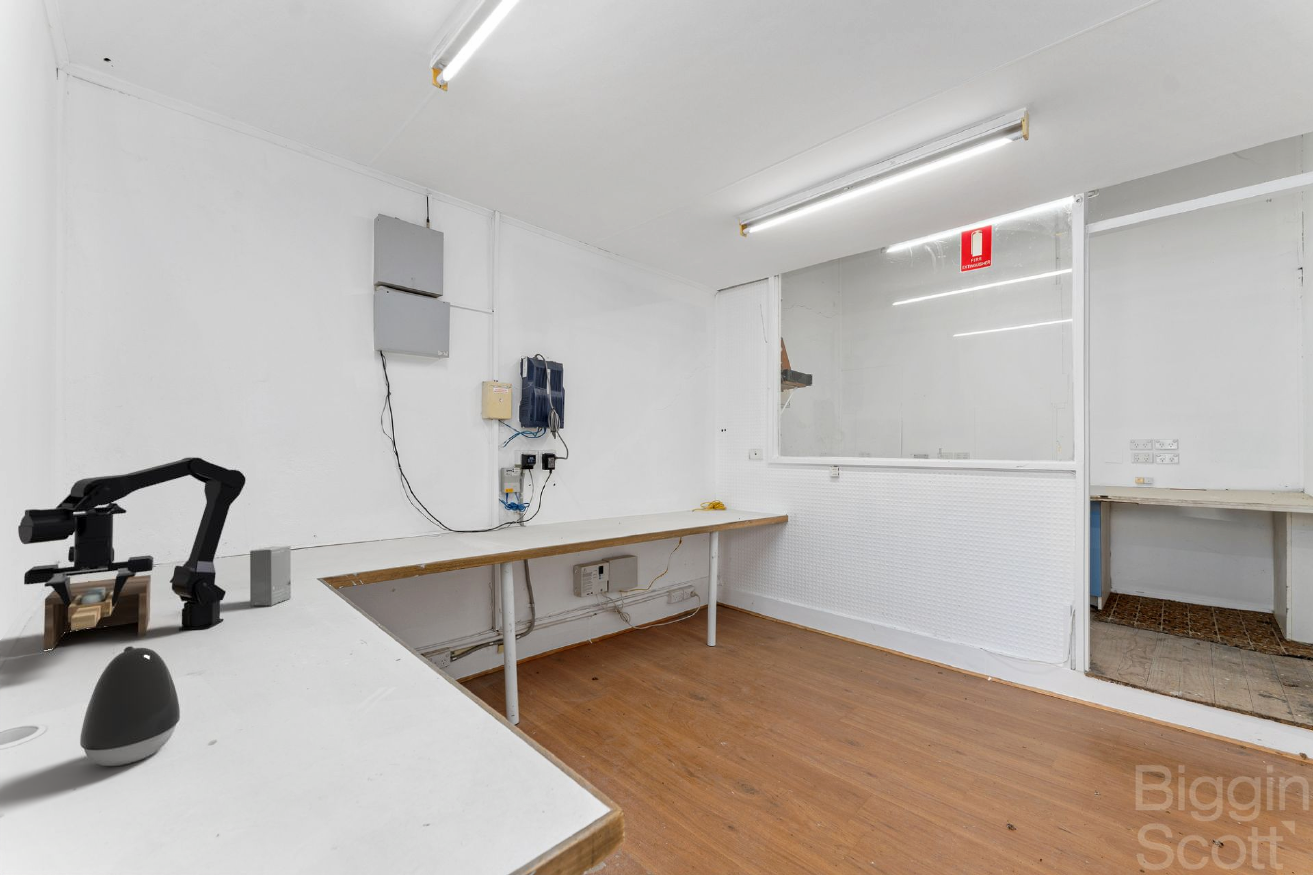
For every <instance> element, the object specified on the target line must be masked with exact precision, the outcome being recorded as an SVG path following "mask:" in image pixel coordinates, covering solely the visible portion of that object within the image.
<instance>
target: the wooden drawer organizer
mask: <svg viewBox="0 0 1313 875" xmlns="http://www.w3.org/2000/svg"><path fill="white" fill-rule="evenodd" d="M151 576H152V575H151V574H146V575H145V574H144V575H137V576H136V575H135V576H134V577H129V578H128V579H127V581H126V583H125V584H124V586H123V588H122V590H121V592H120V595H119V597H118V600H117V602H116V605H115V607H114V609H113V611H112V613H111V615H110V616H107V617H100V619H99V620H98V622H97V624H96V626H95V627H92V628H96V629H99V628H98V627H102V628H105V627H104V626H109V627H115V625H116V626H120V625H127V624H126V623H129V624H134V623H135V624H136V623H138V627H137V628H138V631H137V632H138V634H137V637H145V636H146V634H147V630H148V627H149V624H150V620H151V619H150V618H151V617H150V615H151V581H152V580H151V578H152V577H151ZM115 580H116V578H110V579H101V580H100V579H99V580H92V581H91V580H90V581H82V582H73V583H70V588H71V595H72V601H74V600H75V599H76V597H77V596H78V595H84V594H86V590H87V589H91V588H99V587H105V592H109V591H114V586H115ZM43 624H44V626H43V651H44V650H48V649H52V648H53V647H54V646H55V645H56V646H57V644H58V643H59V641H60V640H61V639H60V638H62V637H63V636H64V635H65V633H64V632H69V633H71V632H70V631H71V622H68V610H67V608H66V606H65V605H64V603H63V601H62V599H61V598H60V596H59V595H58V594H57V592H56V591H55V590H54V589H53V590H52V592H51V593H49V594H48V595H47V596H46V597H45V598H44V623H43ZM85 629H87V628H85ZM78 630H82V631H85V630H84V629H78ZM72 631H76V630H72ZM76 632H77V631H76ZM63 634H64V635H63ZM62 635H63V636H62ZM61 636H62V637H61ZM59 639H60V640H59ZM57 642H58V643H57ZM56 643H57V644H56ZM56 646H55V647H56ZM55 647H54V648H55ZM54 648H53V649H54Z"/></svg>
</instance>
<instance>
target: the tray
mask: <svg viewBox="0 0 1313 875" xmlns="http://www.w3.org/2000/svg"><path fill="white" fill-rule="evenodd" d="M112 597H113V591H109V592H105V587H99V588H91V589H87V590H86V594H84V595H78V596H77V597H76V599H75V600H74V601H73V602H72V603H71V605H70V606H69V607H68V622H71V631H72V630H78V629H85V628H92V627H95V626H96V624H97V622H98V620H99V619H100V617H107V616H110V615H111V613H112V611H113V609H114V607H115V606H114V607H112ZM115 605H116V604H115Z"/></svg>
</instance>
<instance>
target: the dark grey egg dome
mask: <svg viewBox="0 0 1313 875" xmlns="http://www.w3.org/2000/svg"><path fill="white" fill-rule="evenodd" d="M170 672H171V671H170V670H169V668H168V666H167V664H166V662H165V661H164V660H163V658H162V657H161V656H160V655H159V654H158V653H157V651H155V650H153V649H151V648H146V647H136V648H135V647H133V646H130V645H129V646H127V647H125V648H124V649H123V652H121V653H119V654H118V655H116V656H115V657H114V658H112V659H111V661H110V662H109V663H108V665H106V667H105V668H104V670H103V672H102V673H101V675H100V676H99V678H98V681H97V682H96V684H95V687H94V689H93V692H92V693H91V697H90V700H89V702H88V706H87V707H86V712H85V714H84V719H83V722H82V727H81V731H80V736H79V737H80V738H79V744H80V747H81V748H82V749H83V750H84V753H85V755H86V757H87V758H88V759H89V760H90V761H91V762H93V763H94V764H96V765H99V766H103V767H118V766H124V764H125V765H129V764H132V762H133V763H135V762H138V761H141V760H143V759H145V758H147V757H150V756H151V755H153V754H155V753H156V752H157V751H159V750H160V749H161V748H163V747H164V746H165V745H166V744H167V743H168V741H169V740H170V739H171V737H172V736H173V733H174V732H175V729H176V727H177V724H178V723H179V721H180V718H181V710H180V703H179V702H180V701H179V698H178V693H177V689H176V686H175V683H174V680H173V677H172V674H171V673H170Z"/></svg>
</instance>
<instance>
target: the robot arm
mask: <svg viewBox="0 0 1313 875" xmlns="http://www.w3.org/2000/svg"><path fill="white" fill-rule="evenodd" d="M187 476H191V477H192V478H194V479H195V480H197V481H198V482H199V481H200V482H202V483H204V490H203V491H204V496H205V500H206V503H205V507H204V510H203V512H202V513H203V515H202V517H201V520H200V523H199V527H198V530H197V532H196V536H195V539H194V541H193V545H192V548H191V552H190V554H189V557H188V560H187V561H186V562H185V563H184V564H183V565H175V567H174V570H173V575H172V578H171V579H170V580H169V584H171V590H172V591H173V593H174V594H175V595H177V596H179V598H180V600H181V602H184V603H183V608H182V609H181V626H179V628H178V630H179V631H185V630H186V631H187V630H200V629H201V630H202V629H204V630H206V629H211V628H212V627H213V626H216V625H218V624H220V623H222V622H224V618H221V617H220V616H221V601H223V600H224V598H225V595H226V593H227V592H226V590H225V589H223V588H221V587H220V586H218V585H217V584H216V582H215V581H216V572H217V571H216V568H215V564H214V561H215V560H214V559H215V556H216V552H217V550H218V545H219V543H220V539H221V536H222V533H223V530H224V526H225V523H226V520H227V517H228V514H229V510H230V507H231V505H232V504H233V503H234V501H235V500H237V499H238V497H239V496H240V494H241V493H242V491H243V489H244V487H245V484H246V480H247V478H246V476H244V474H243V473H242V472H241V471H240V470H237V469H228V468H226V467H223V466H221V465H218V464H214V463H212V462H209V461H207V460H204V459H203V458H201V457H193V456H192V457H191V456H188V457H184V458H182V459H180V460H176V461H172V462H168V463H163V464H161V465H156V466H152V467H148V468H145V469H142V470H141V469H140V470H137V471H136V470H135V471H132V472H129V473H125V474H118V475H115V474H113V475H105V476H104V475H103V476H96V477H87V478H83V479H80V480H77V481H76V482H74V484H73V485H72V487H71V489H70V492H69V494H68V495H67V496H66V497H65V498H64V499H63V500H62V501H61V502H60V503H59V504H58V505H57V506H56V507H55V508H45V509H44V508H43V509H36V508H31V509H30V508H29V509H25V510H24V515H23V517H22V518H21V520H20V524H19V525H18V526H17V527H18V528H17V530H18V537H19V540H20V542H21V543H22V544H24V545H30V544H31V545H32V544H38V543H39V544H40V543H50V542H57V541H65V540H67V539H68V538H69V537H70V536H73V535H74V539H73V542H74V545H72V546H69V548H68V557H67V558H68V559H67V560H68V562H69V563H73V566H66V567H59V564H57V563H56V564H45V565H37V566H35V565H34V566H32V567H31V568H30V569H29V570H27V571H26V572H25V573H24V576H23V577H24V578H23V579H24V580H23V584H24V585H34V584H35V585H36V584H44V587H51V588H52V589H53V591H54V590H55V591H56V592H57V594H58V595H59V596H60V598H61V599H62V601H63V603H64V605H65V606H66V608H67V610H68V607H69V606H70V605H71V603H72V602H73V601H72V595H71V588H70V584H71V577H70V576H80V575H87V574H97V573H106V572H107V573H108V572H116V571H117V574H116V577H115V579H116V580H115V586H114V591H113V597H112V607H114V606H115V604H116V602H117V600H118V597H119V595H120V592H121V590H122V588H123V586H124V584H125V583H126V581H127V579H128V578H129V577H135V576H136V575H137V573H143V572H144V573H146V572H151V571H153V569H154V556H152V555H140V556H129V557H128V559H127V560H126V561H115V549H114V547H113V546H114V543H113V542H114V535H113V534H114V515H120V514H121V515H122V514H126V513H127V510H126V509H125V508H123V507H121V506H120V505H118V503H117V501H119V500H120V499H123V498H125V497H127V496H128V495H130V494H132V493H134V492H136V491H138V490H140V489H145V488H148V487H152V486H155V485H158V484H163V483H165V482H166V483H167V482H169V481H174V480H177V479H181V478H184V477H187ZM105 505H106V506H105ZM98 506H100V507H98ZM114 561H115V562H114Z"/></svg>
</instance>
